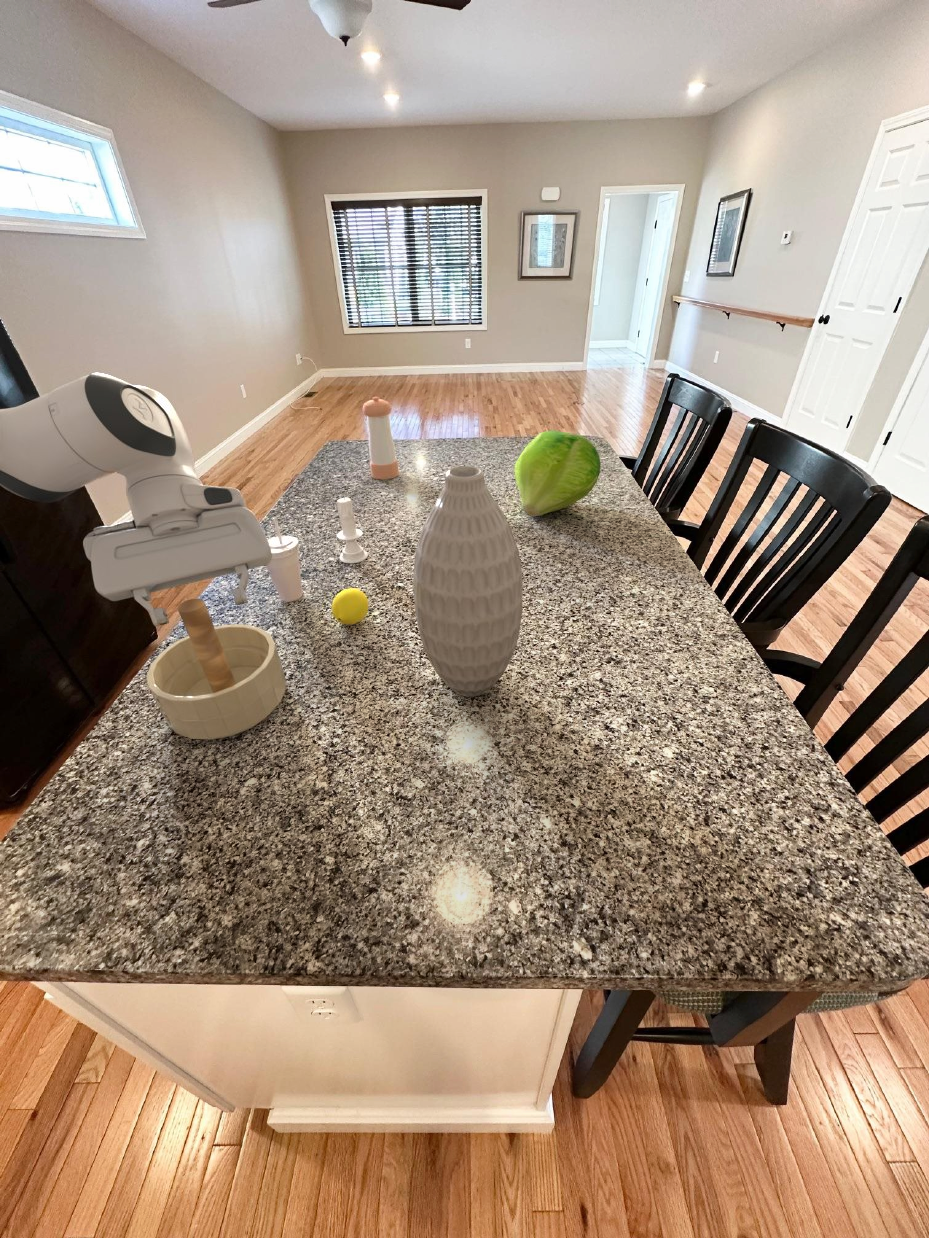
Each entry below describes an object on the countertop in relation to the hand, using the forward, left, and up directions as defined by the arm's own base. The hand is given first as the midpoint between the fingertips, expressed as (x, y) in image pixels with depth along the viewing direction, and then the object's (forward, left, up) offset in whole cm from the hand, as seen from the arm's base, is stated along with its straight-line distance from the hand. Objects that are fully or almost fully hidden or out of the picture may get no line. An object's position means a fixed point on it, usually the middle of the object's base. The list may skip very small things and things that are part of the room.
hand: (202, 613), depth 64 cm
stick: (-1, -5, -10) cm, 11 cm away
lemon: (+19, +3, -11) cm, 22 cm away
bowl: (-1, -5, -10) cm, 12 cm away
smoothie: (+13, +16, -11) cm, 23 cm away
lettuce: (+73, +20, -11) cm, 77 cm away
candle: (+27, +23, -11) cm, 37 cm away
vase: (+27, -19, -11) cm, 35 cm away
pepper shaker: (+51, +62, -11) cm, 81 cm away
